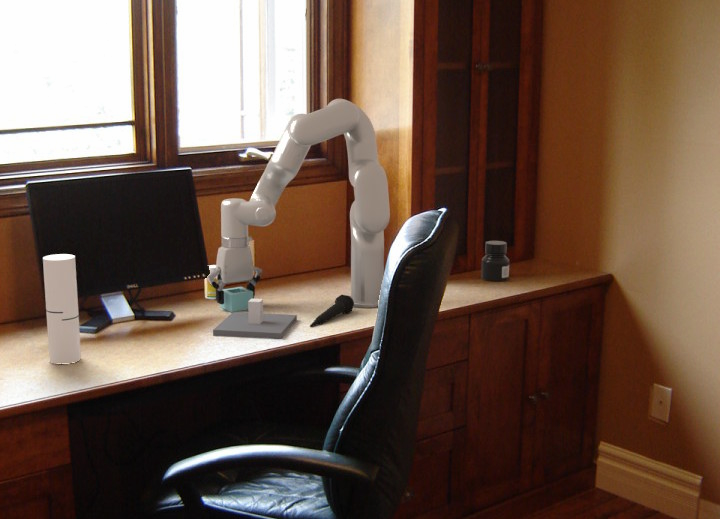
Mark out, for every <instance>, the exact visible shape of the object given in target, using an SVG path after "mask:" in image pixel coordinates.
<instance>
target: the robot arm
mask: <svg viewBox="0 0 720 519" xmlns="http://www.w3.org/2000/svg"><path fill="white" fill-rule="evenodd" d="M375 131H376V130H375V128H374V125H373V123H372V121H371V119H370V117H369V116H368V115H367V113H366V112H364V110H363V109H362V108H361V107H359V106H358V105H357V104H355V103H353V102H352V101H350V100H347V99H343V98H335V99H333V100H330V102H329V103H328V104H327V106H324V107H323V108H321V109H318V110H315V111H312V112H310V113H298V114H295V115H294V116H292V117H291V118H290V120H289V121H288V123H287V125H286V127H285V129H284V130H283V133H282V135H281V137H280V139H279V141H278V143H277V145H276V147H275V149H274V151H273V154H272V155H271V157H270V159H269V160H268V163H267V164H266V167H265V169H264V171H263V173H262V175H261V177H260V179H259V180H258V182H257V185H256V187H255V189H254V190H253V193H252V195H251V197H250V199H249V200H248V201H247V200H245V199H244V198H233V197H232V198H227V199H226V198H225V199H223V200H222V201H221V204H220V214H221V215H220V216H221V217H220V222H221V223H220V224H221V226H220V228H221V232H220V234H221V236H220V237H221V246H220V247H218V250H217V255H216V262H215V263H216V264H215V265H216V270H215V271H213V272H212V273H211V274H209V275H208V276H207V279H208V281H209V282H210V285H211V286H213V287H214V289H216V303H217V304H219V305H220V304H224V291H223V290H222V289H224V287H225V286H226V285H227V284H233V283H234V284H235V283H241V282H247V284H246V289H248V290H251V291H253V299H255V295H256V286H257V283H258V282H259V281H260V280H261V276H262V274H263V269H262V268H259V267H258V266H255V265H254V260H253V254H252V249H251V246H250V245H249V244H250V242H252V240H253V237H252V236H249V226H255V227H267V226H269V225H271V224H272V223H273V222H274V221H275V219H276V216H277V211H276V206H277V204H278V202H279V200H280V197H281V196H282V193H283V191H284V190H285V188H286V187H287V186H288V184H289V183H290V182H291V181H292V180H294V178H295V177H296V176H297V175H298V172H299V171H300V169H301V167H302V165H303V163H304V161H305V158H306V156H307V155H308V152H309V151H310V149H311V146H314V145H317V144H320V143H323V142H325V141H327V140H330V139H333V138H335V137H338V136H340V135H344V139H345V142H346V143H345V144H346V150H347V160H348V163H347V164H348V179H349V182H350V184H351V186H352V187H353V194H354V201H353V202H352V203H351V205H350V206H351V207H350V211H349V222H350V224H349V226H350V241H351V242H350V243H351V244H350V291H351V292H350V295H349V296H350V297H351V298H352V299H353V301H354V306H353V307H356V308H366V309H367V308H369V309H371V308H378V307H377V306H378V300H379V295H380V290H381V284H382V280H383V275H385V274H384V273H385V272H384V269H385V268H384V265H385V264H384V263H385V258H384V257H385V236H384V234H385V233H384V232H385V231H384V230H385V229H386V228H387V227H388V225H389V222H390V220H391V219H390V217H391V214H390V213H391V210H390V194H389V184H388V177H387V173H386V171H385V169H384V167H383V166H382V165H381V164H380V162H379V161H380V160H379V153H378V145H377V137H376V132H375ZM254 272H255V275H254ZM215 277H216V279H217V280H218V281H217V283H216V282H215V280H214V278H215Z"/></svg>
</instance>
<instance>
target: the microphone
mask: <svg viewBox="0 0 720 519" xmlns="http://www.w3.org/2000/svg"><path fill="white" fill-rule="evenodd" d="M350 296H351V295H346V294H340V295H339V296H337V297H335V301H334V303H333V304H332V305H331V306H329V308H327V309H326V310H324V311H323V312H322V313H320V314H319V315H318V316H317V317H316V318H315V319H314V320H313V322H311V324H310V325H309V327H310V328H314V327H316V326H318V325H323V324H324V323H326V322H328V321H330V320H332V319H334V318H335V317H337V316H340V315H341V314H346V315H347V314H350V313H351V312H353V310H354V307H355V306H354V301H353V299H352V298H351V297H350Z"/></svg>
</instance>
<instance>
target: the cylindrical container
mask: <svg viewBox="0 0 720 519" xmlns="http://www.w3.org/2000/svg"><path fill="white" fill-rule="evenodd" d="M42 264H43V282H44V295H45V296H44V297H45V310H46V312H45V313H46V325H47V328H46V329H47V343H48V355H49V356H48V357H49V363H50V362H52V363H61V364H62V363H72V362H76V361H78V360H80V359H81V360H82V353H81V352H82V350H81V334H80V315H79V301H78V283H77V269H76V268H77V266H76V255H73V254H68V253H59V254H57V253H55V254H50V255H49V254H48V255H45V256H43V257H42ZM81 360H80V361H81Z"/></svg>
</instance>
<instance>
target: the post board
mask: <svg viewBox="0 0 720 519" xmlns="http://www.w3.org/2000/svg"><path fill="white" fill-rule="evenodd" d="M247 311H248V312H243V311H235V312H231V313H230V314H229V315H228V316H227V317H226V318H224V320H222V321H221V322H220V323H218V325H216V326H215V327H214V328H213V330H212V336H215V337H217V336H219V337H220V336H222V337H237V338H238V337H241V338H253V339H255V338H256V339H274V340H275V339H277V340H281V339H283V337H284V336H285V335H286V334H287V332H288V331H289V330H290V329H291V327H293V326H294V324H296V322H297V320H298V316H297V314H286V313H284V314H283V313H282V314H281V313H267V312H264V299H263V298H254V299H250V300H249V301H248V309H247Z"/></svg>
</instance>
